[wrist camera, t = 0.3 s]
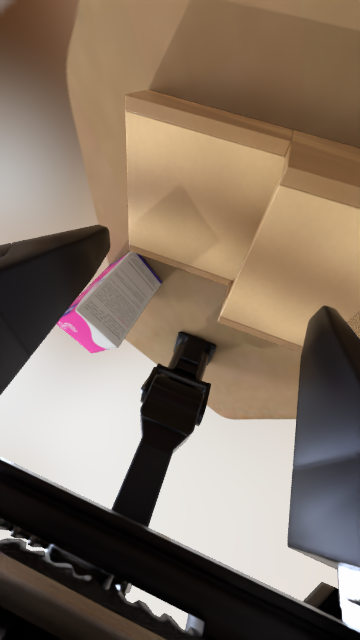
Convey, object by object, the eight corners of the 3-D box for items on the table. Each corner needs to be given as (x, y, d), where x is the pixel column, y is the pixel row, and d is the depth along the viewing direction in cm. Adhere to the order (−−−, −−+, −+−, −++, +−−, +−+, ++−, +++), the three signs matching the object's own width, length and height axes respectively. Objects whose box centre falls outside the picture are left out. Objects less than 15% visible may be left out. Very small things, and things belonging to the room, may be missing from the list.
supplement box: (133, 245, 28) (75, 310, 21) (163, 282, 31) (121, 350, 24) (108, 263, 32) (51, 323, 25) (136, 294, 34) (93, 356, 27)
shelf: (306, 291, 24) (307, 355, 19) (143, 235, 26) (103, 279, 21) (412, 162, 15) (469, 219, 10) (147, 89, 17) (77, 104, 12)
